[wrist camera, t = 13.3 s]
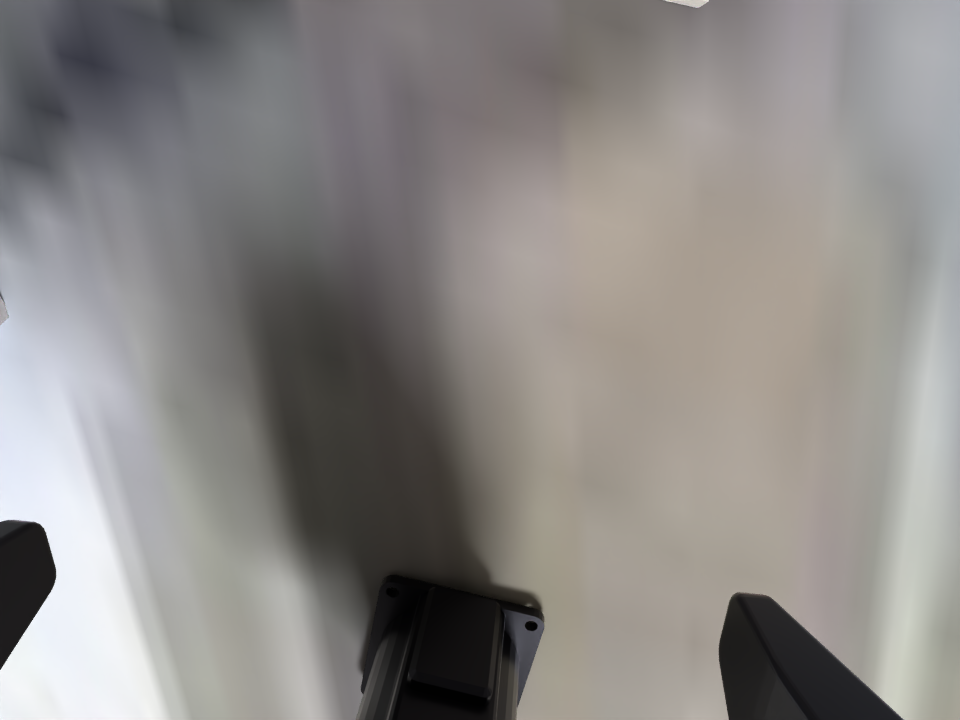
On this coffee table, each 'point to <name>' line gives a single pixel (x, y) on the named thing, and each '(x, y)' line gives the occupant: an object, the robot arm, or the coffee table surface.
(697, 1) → the plate
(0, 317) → the grey blocky piece
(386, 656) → the robot arm
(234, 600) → the coffee table surface
